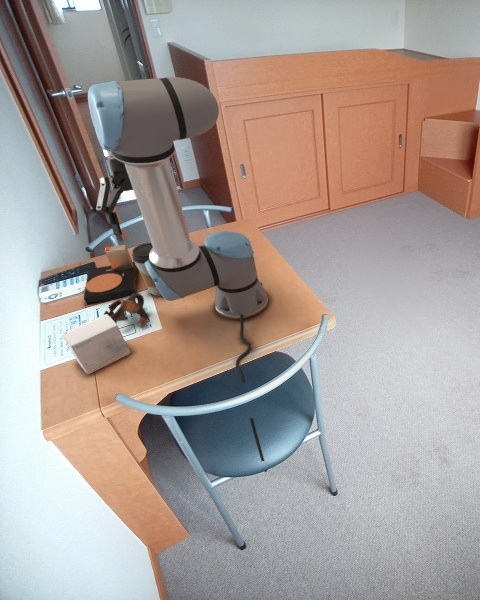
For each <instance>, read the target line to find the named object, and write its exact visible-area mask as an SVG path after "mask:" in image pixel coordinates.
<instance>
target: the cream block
mask: <svg viewBox="0 0 480 600" xmlns="http://www.w3.org/2000/svg"><path fill="white" fill-rule="evenodd" d="M104 253H105V255H106V258H107V260H108V262H109V266H111V267H112V269H113V271H114V272H115V271H121V270H127V269H133V262H134V261H133V259H132V257H131V255H130V253H129V250H128V248H127V245H126V244H118V245H113V246H105V249H104Z"/></svg>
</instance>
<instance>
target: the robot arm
mask: <svg viewBox="0 0 480 600" xmlns="http://www.w3.org/2000/svg"><path fill="white" fill-rule="evenodd" d="M87 103H88V108H89V109H88V110H89V113H90V119H91V122H92V125H93V128H94V131H95V136H96V138H97V141H98V143H99V145H100V147H101V148H102V149H101V150H102V152H103V156H104V158H107V159H106V160H105V164H106V168H107V171H108V173H109V174H110V176H109V177H108V176H100V177H99V184H100V187H99V192H98V196H97V202H96V208H95V210H96V212H98V213H99V212H100V213H103V214H104V215H105V218H106V222H107V223H108V225H110V226H111V229H112V233H113V235H114V236H122V235H123V232H122V228H121V224H120V222H119V218H118V214H117V212H114V211H115V207H116V205H117V204H118V202H119V199H120V197H121V195H122V194H123V193H124V192H129V191H133V193H134V195H135V200H136V202H137V205H138V207H139V211H140V213H141V214H140V215H141V216H142V220H143V222H144V225H145V229H146V231H147V235H148V237H149V240H150V243H152V246H153V248H152V249H151V251H150V253H149V258H150V260H148V261H146V262H145V267H146V268H147V270H148V272H149V274H150V276H151V278H152V279H153V281H154V283H155V285H156V286H157V288H158V290H159V292H160V293H161V295H160V296H162V298H163V299H164V300H165V301H169V302H172V301H177V300H179V299H184V298H186V297H188V296H192V295H194V294H198V293H201V292H204V291H207V290H209V289H212V288H215V287H216V291H215V299H214V307H215V310H216V313H217V314H218V315H220V316H221V317H222V318H225V319H228V320H235V321H237V320H239V322H240V323H239V324H240V325H239V327H240V328H239V331H240V332H239V337H240V340H241V342H242V343H244V344H245V345H246V346H247V349H246V351H244V352H243V353H242V354H240V355H239V356H238V357H237V359H236V360H235V368H236V370H237V372H238V374H239V377H240V381H241V383H242V384H245V383H246V379H245V375H244V371H243V370H242V368H241V366H240V362H241V360H242V359H243V358H245V356H247V355H249V353H250V352H251V351H252V343H251V342H249V341H248V340H247V339H245V336H244V327H245V325H244V320H246V319H249V318H253V317H256V316H257V315H259V314H261V313H262V312H263V311H264V310H266V308H267V306H268V303H269V297H268V293H267V291H266V289H265V288H264V284H263V283H262V282H261V281H260V280H259V278H258V273H257V272H258V271H257V266H256V262H255V257H254V253H255V252H254V249H253V246H252V243H251V241H250V239H249V238H248V237H247V236H246V235H244V234H242V233H239V232H234V231H227V230H226V231H216V232H214V233H211V234H209V235H207V236H206V237H205V239H204V242H203V243H204V244H203V245H200V246H199V245H198V244H197V243H196V242H195V241H193V240H191V237H190V233H189V229H188V225H187V222H186V218H185V214H184V210H183V206H182V203H181V199H180V195H179V191H178V187H177V183H176V178H175V175H174V171H173V168H172V164H171V160H170V159H171V158H172V157H173V155H174V154H175V152H176V149H175V144H174V142H175V141H182V140H187V139H191V138H192V139H193V138H195V137H198V136H201V135H203V134H205V133H207V132H209V130H211V129H212V128H213V127H214V126H215V125H216V123H217V122H218V118H219V114H220V107H219V104H218V100H217V98H216V97H215V94H213V92H212V91H211V90H210V89H209V88H207V87H206V86H205V85H204V84H201V83H199V82H198V81H195V80H193V79H189V78H186V77H180V76H179V77H178V76H177V77H176V76H167V77H160V78H159V77H156V78H144V79H133V80H118V81H117V80H111V81H108V82H102V83H95V84H92V85H91V86H90V87H89V89H88V92H87ZM111 184H113V186H112V189H111ZM110 190H111V193H110ZM249 421H250V426H251V428H252V433H253V437H254V440H255V443H256V448H257V450H258V454H259V457H260V461H261V462H262V461H265V457H264V454H263V450H262V447H261V443H260V440H259V436H258V432H257V429H256V425H255V420H254V417H251V418H249ZM267 471H268V469H267V470H265V471H264V470H263V472H265V473H266V472H267Z"/></svg>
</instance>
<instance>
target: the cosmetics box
mask: <svg viewBox="0 0 480 600" xmlns="http://www.w3.org/2000/svg"><path fill="white" fill-rule="evenodd" d="M61 336H62V337H63V339H64V341H65V343H66V345H67V346H68V348H69V349H70V351H71V353H72V355H73V356H74V359H76V362H77V363H78V364H79V366H80V368H82V370H83V371H84V372H85V373H86V375H90V374H93V373H94V372H97V371H99V370H100V369H103V368H105V367H106V366H108V365H110V364H112V363H114V362H116V361H118V360H120V359H123V358H124V357H126V356H128V355H130V354H131V351H130V349H129V347H128V345H127V342H126V341H125V338H124V336H123V334H122V332H121V330H120V328H119V326H118V323H117V324H116V323H115V322H114V321H113V319H112V318H111V317H110V316H109V315H108V314H105V315H104V314H103V315H101V316H99V317H96V318H94V319H92V320H89V321H87V322H84V323H82V324H80V325H77V326H75V327H73V328H70V329H69V330H66V331H63V332H62V333H61Z"/></svg>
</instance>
